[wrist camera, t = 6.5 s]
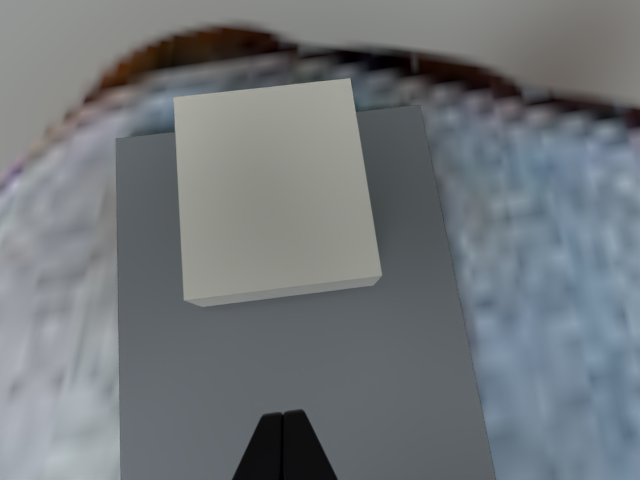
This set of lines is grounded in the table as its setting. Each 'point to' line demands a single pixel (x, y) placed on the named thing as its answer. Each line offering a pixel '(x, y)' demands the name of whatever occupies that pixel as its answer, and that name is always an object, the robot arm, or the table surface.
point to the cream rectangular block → (272, 194)
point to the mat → (298, 336)
